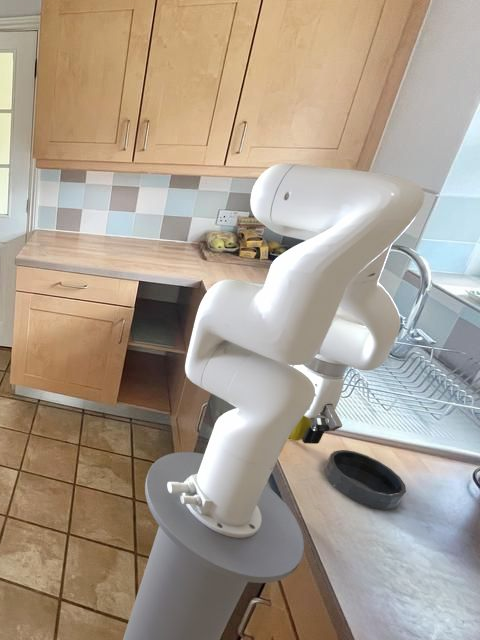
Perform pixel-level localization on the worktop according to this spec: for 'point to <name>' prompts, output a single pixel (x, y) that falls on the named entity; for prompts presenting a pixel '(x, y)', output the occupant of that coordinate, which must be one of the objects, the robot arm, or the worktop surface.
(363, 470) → the pan
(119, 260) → the worktop surface
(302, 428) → the lemon
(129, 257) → the worktop surface
